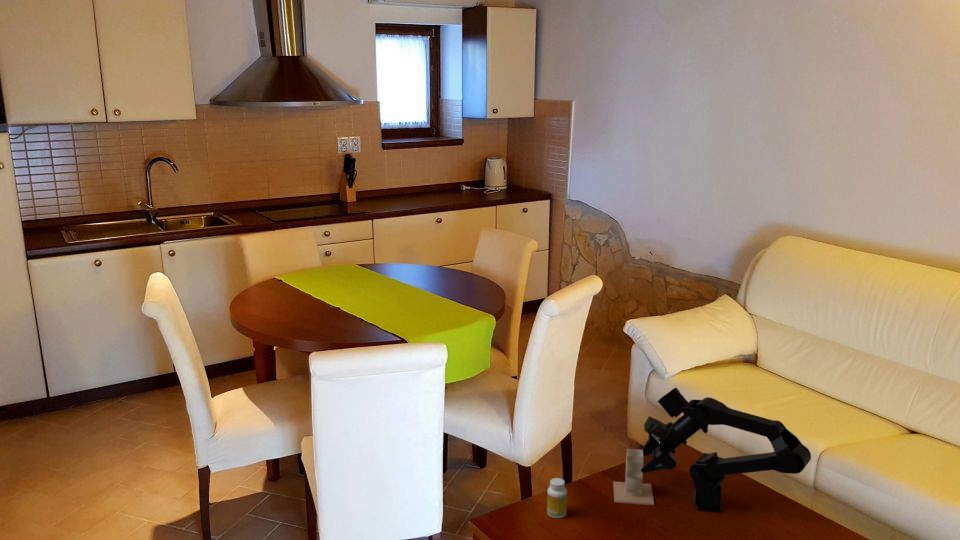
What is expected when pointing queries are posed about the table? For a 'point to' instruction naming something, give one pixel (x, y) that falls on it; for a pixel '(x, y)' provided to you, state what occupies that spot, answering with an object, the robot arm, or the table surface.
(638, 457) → the birch pillar
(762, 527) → the table surface
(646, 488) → the plate
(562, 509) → the supplement bottle
